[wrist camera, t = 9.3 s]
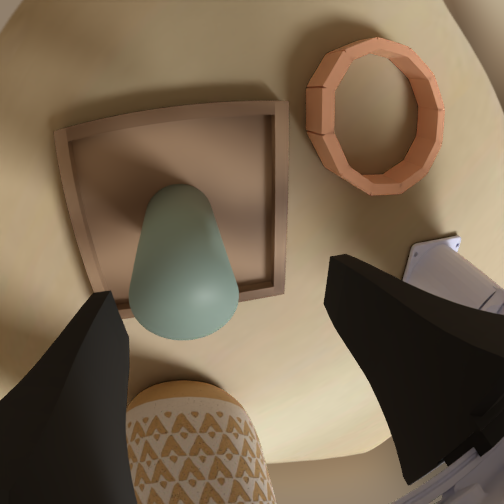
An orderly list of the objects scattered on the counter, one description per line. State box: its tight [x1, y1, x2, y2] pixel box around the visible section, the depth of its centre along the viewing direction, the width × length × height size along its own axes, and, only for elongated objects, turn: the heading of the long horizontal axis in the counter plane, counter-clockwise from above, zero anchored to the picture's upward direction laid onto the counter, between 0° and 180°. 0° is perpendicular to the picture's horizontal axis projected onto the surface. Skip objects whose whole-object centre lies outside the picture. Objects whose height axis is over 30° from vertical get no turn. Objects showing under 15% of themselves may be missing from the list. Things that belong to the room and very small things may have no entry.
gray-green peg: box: [129, 184, 239, 340], centre depth 13 cm, size 4×4×8 cm
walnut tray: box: [53, 101, 289, 319], centre depth 17 cm, size 13×13×2 cm
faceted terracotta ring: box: [306, 37, 445, 196], centre depth 16 cm, size 11×11×2 cm
